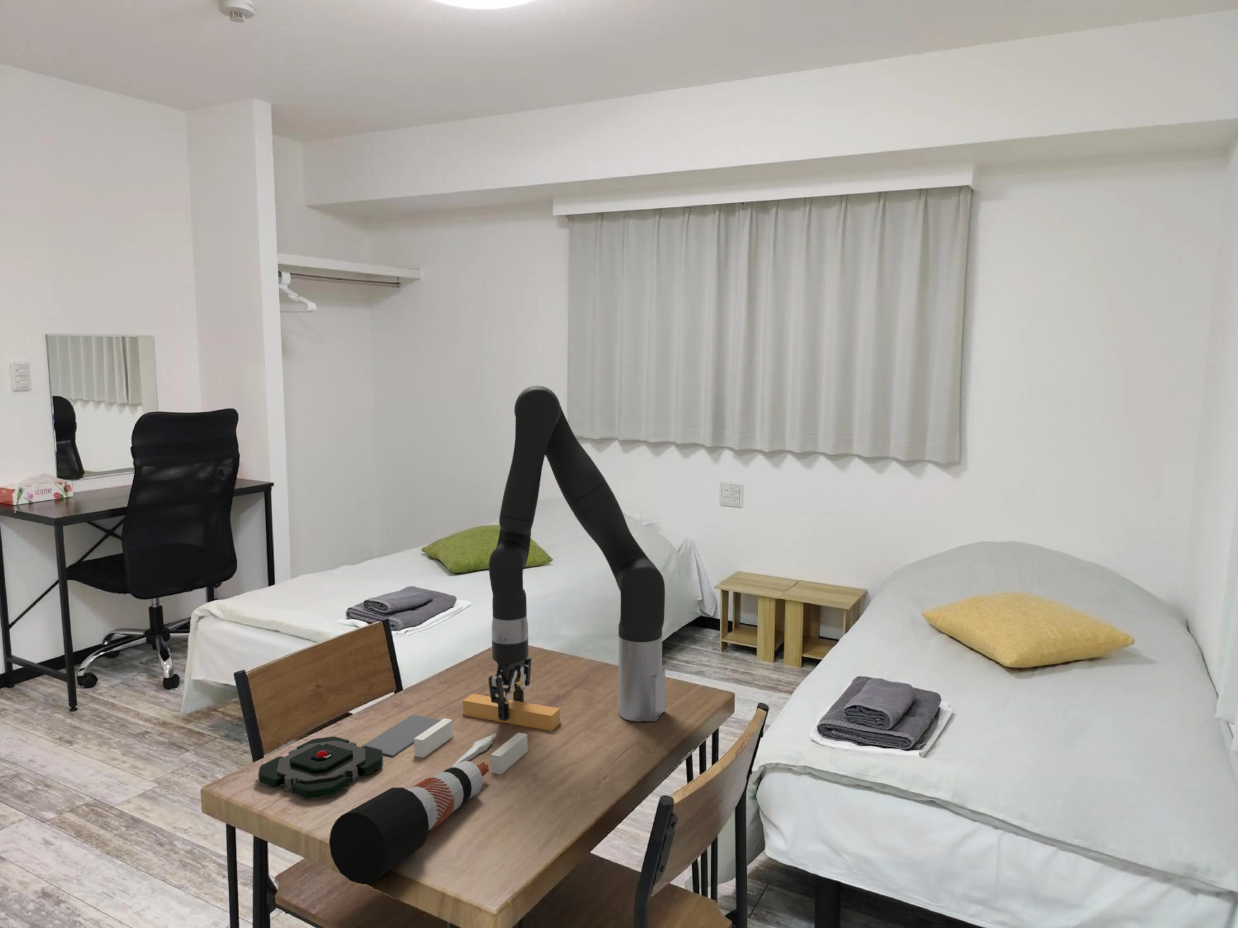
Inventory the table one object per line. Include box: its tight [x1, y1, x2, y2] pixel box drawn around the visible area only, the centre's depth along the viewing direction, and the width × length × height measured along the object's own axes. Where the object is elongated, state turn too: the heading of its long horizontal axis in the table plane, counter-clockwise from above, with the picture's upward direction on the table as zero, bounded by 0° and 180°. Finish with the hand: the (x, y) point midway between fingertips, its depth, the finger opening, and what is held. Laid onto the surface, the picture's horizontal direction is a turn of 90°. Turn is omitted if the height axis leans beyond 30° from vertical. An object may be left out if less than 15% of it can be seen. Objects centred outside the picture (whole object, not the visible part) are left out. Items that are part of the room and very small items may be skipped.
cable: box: [328, 760, 490, 885], centre depth 137 cm, size 10×34×10 cm, turn 155°
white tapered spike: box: [451, 732, 497, 767], centre depth 163 cm, size 15×3×2 cm, turn 155°
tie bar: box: [462, 693, 561, 732], centre depth 179 cm, size 21×4×4 cm, turn 68°
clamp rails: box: [413, 718, 529, 775], centre depth 163 cm, size 19×10×4 cm, turn 67°
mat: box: [360, 713, 442, 758], centre depth 172 cm, size 8×17×1 cm, turn 157°
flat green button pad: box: [257, 735, 384, 799], centre depth 156 cm, size 18×18×5 cm
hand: (511, 713), depth 179 cm, fingers open, 5 cm apart
